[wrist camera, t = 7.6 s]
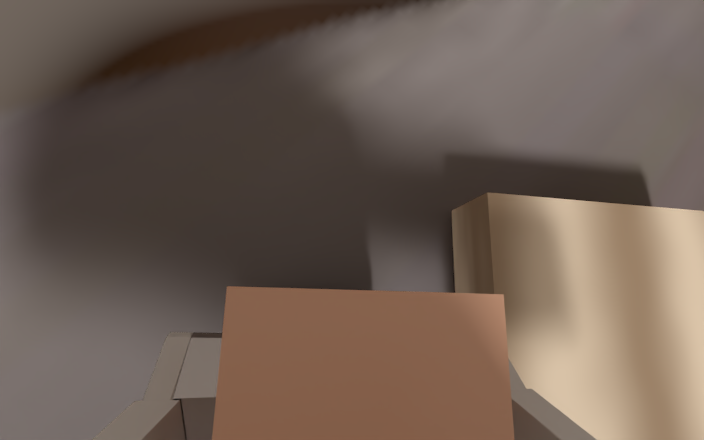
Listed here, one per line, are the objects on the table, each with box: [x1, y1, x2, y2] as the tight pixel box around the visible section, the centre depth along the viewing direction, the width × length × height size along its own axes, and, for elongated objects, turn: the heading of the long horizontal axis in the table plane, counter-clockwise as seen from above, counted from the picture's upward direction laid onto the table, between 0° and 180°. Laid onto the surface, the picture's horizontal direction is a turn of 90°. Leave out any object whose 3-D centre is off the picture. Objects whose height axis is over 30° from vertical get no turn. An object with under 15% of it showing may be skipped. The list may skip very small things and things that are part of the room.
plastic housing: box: [212, 286, 514, 440], centre depth 10 cm, size 5×4×8 cm
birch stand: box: [451, 192, 704, 440], centre depth 15 cm, size 12×12×3 cm
